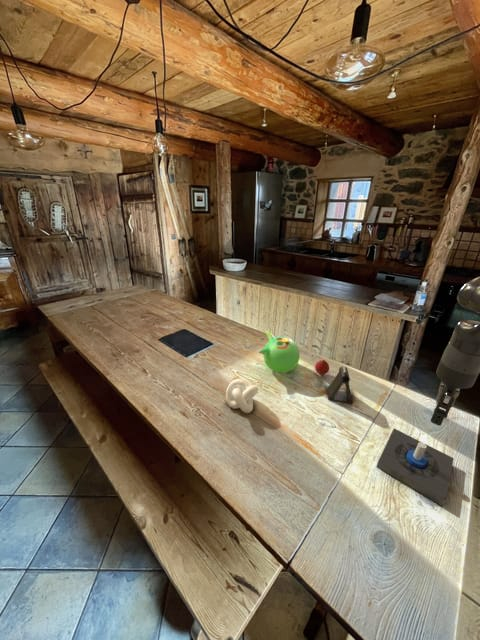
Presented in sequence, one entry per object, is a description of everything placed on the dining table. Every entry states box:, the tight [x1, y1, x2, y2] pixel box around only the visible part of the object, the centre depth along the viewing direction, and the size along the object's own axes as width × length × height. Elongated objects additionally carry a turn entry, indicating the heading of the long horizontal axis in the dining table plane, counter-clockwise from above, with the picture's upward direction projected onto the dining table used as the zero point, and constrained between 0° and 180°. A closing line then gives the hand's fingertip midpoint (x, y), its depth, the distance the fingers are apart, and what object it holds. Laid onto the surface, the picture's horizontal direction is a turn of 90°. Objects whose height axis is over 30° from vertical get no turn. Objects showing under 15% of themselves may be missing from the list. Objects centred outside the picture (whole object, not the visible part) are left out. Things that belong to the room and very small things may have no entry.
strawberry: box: [314, 359, 330, 376], centre depth 114 cm, size 6×6×8 cm
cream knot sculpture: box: [225, 378, 259, 414], centre depth 97 cm, size 11×12×9 cm
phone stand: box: [326, 366, 354, 404], centre depth 101 cm, size 9×6×12 cm, turn 78°
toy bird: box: [258, 330, 301, 373], centre depth 117 cm, size 18×17×15 cm
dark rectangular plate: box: [375, 428, 454, 507], centre depth 77 cm, size 16×16×2 cm
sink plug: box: [405, 441, 427, 469], centre depth 76 cm, size 5×5×8 cm
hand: (438, 413), depth 70 cm, fingers open, 8 cm apart
